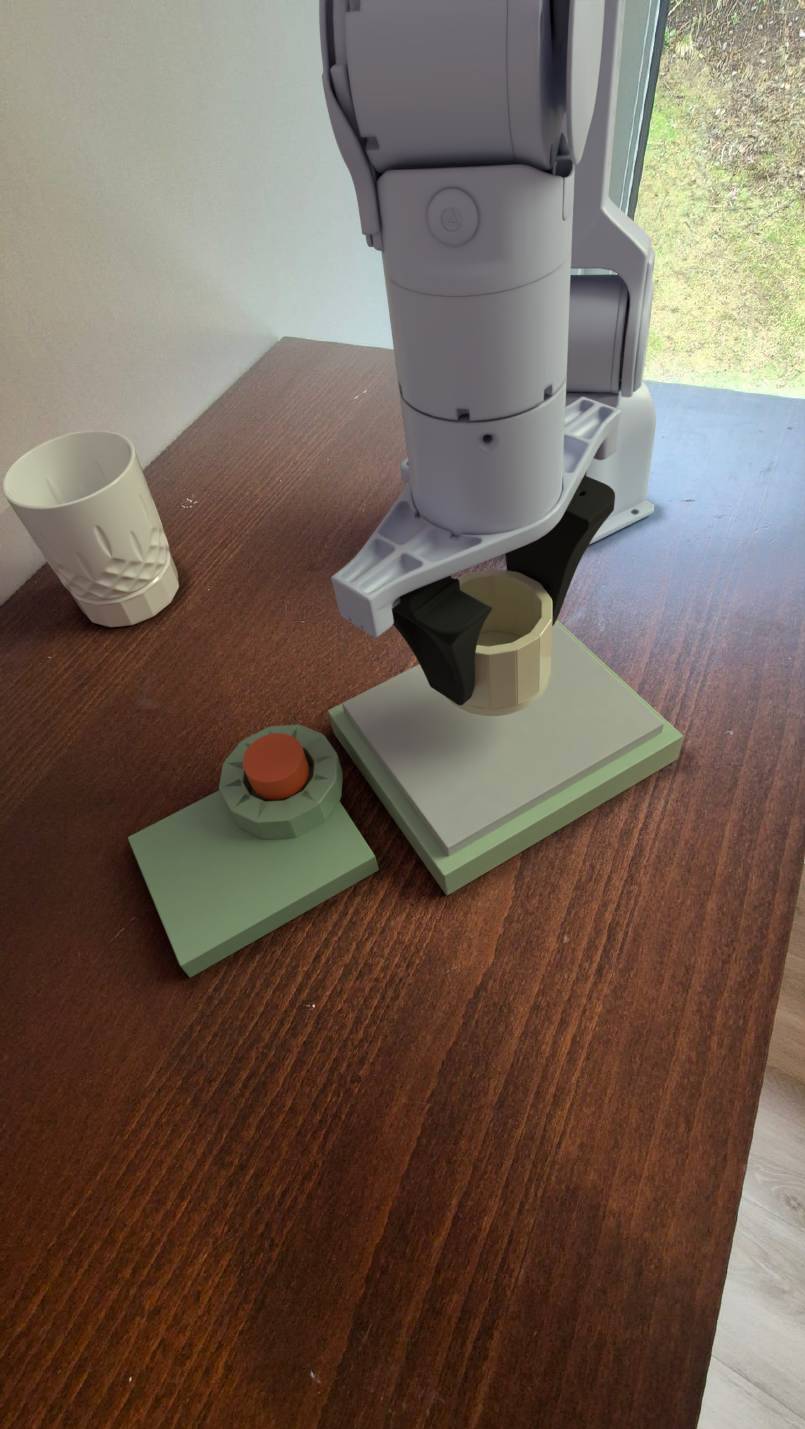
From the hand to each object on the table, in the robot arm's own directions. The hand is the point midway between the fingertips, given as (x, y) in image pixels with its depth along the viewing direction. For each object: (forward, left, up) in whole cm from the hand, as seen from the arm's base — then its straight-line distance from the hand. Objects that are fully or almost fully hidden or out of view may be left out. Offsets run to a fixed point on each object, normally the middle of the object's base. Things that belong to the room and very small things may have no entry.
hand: (494, 653), depth 38 cm
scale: (0, 0, -7) cm, 7 cm away
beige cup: (0, 0, -1) cm, 1 cm away
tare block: (+14, -1, -7) cm, 16 cm away
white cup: (+13, -25, -7) cm, 29 cm away
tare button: (+11, -3, -4) cm, 12 cm away
